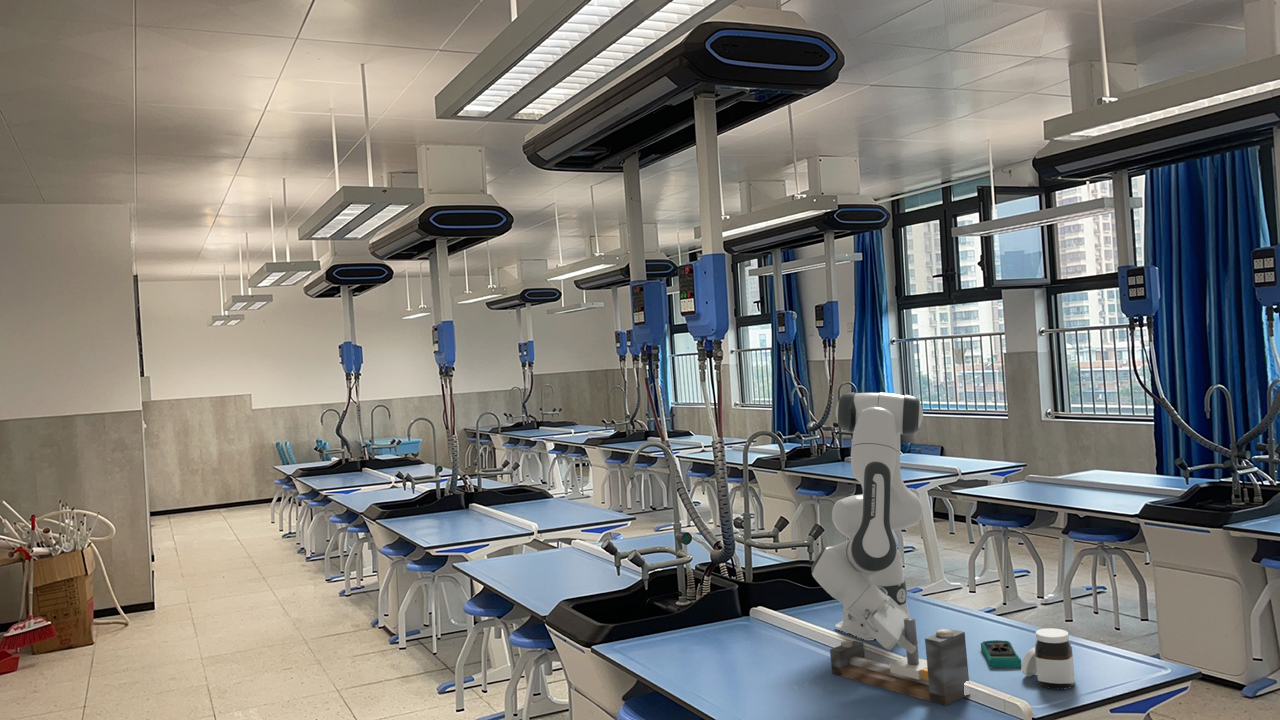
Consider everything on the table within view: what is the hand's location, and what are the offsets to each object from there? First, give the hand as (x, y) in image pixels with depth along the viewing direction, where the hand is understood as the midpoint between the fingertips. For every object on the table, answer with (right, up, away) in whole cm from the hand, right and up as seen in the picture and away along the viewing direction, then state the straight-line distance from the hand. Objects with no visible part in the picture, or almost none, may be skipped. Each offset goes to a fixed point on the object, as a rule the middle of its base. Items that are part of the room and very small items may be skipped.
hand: (915, 648), depth 216 cm
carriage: (0, -6, 0) cm, 6 cm away
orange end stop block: (+3, -5, -4) cm, 7 cm away
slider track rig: (-3, -10, +4) cm, 11 cm away
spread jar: (+30, -7, -3) cm, 31 cm away
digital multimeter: (+26, -8, +15) cm, 31 cm away
